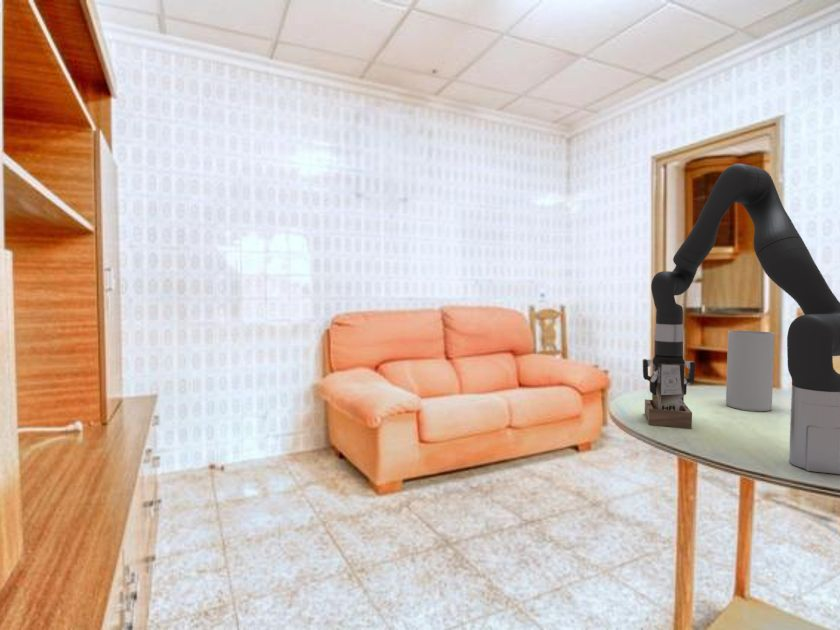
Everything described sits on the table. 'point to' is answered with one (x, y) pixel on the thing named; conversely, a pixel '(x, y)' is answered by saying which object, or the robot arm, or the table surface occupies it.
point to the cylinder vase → (750, 370)
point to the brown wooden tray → (668, 416)
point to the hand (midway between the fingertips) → (667, 395)
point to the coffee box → (669, 387)
